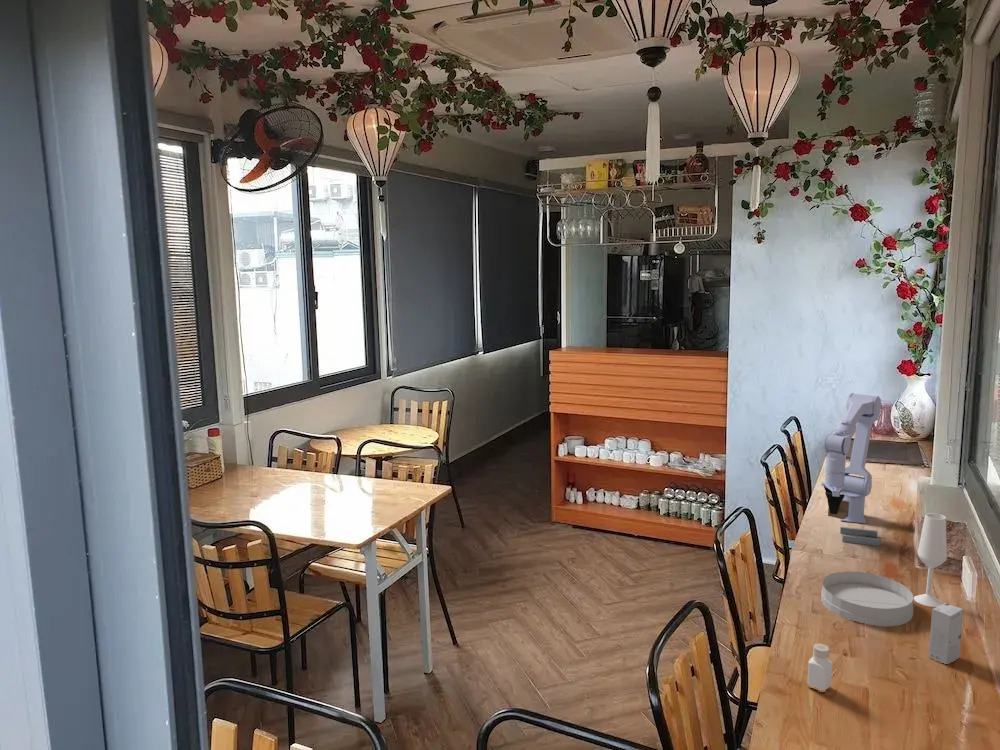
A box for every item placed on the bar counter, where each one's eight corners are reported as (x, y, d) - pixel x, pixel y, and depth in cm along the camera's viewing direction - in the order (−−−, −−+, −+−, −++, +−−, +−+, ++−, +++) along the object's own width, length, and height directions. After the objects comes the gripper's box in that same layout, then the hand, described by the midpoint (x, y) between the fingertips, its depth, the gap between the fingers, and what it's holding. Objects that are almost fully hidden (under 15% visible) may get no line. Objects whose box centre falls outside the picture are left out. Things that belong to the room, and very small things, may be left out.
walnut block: (832, 512, 246) (833, 498, 245) (848, 516, 243) (849, 501, 242) (827, 515, 243) (829, 501, 242) (843, 519, 239) (845, 504, 239)
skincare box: (947, 666, 168) (951, 616, 166) (926, 657, 172) (931, 609, 170) (960, 657, 172) (965, 609, 170) (940, 649, 175) (944, 601, 173)
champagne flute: (945, 608, 195) (953, 522, 191) (916, 604, 197) (923, 519, 193) (939, 597, 201) (946, 513, 197) (911, 593, 203) (918, 510, 199)
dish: (900, 592, 205) (902, 575, 204) (923, 632, 184) (925, 613, 183) (814, 584, 210) (815, 567, 209) (827, 621, 189) (828, 603, 188)
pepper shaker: (805, 687, 161) (808, 647, 159) (813, 679, 164) (815, 640, 162) (824, 695, 158) (826, 654, 156) (831, 687, 161) (834, 647, 159)
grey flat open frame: (840, 532, 247) (840, 526, 246) (876, 536, 243) (877, 530, 243) (842, 541, 239) (842, 535, 239) (880, 545, 235) (880, 540, 235)
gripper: (820, 463, 249) (818, 502, 252) (823, 476, 236) (820, 516, 238) (843, 465, 247) (840, 504, 249) (847, 478, 233) (844, 519, 236)
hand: (832, 510), depth 243 cm, fingers closed on walnut block, 5 cm apart
